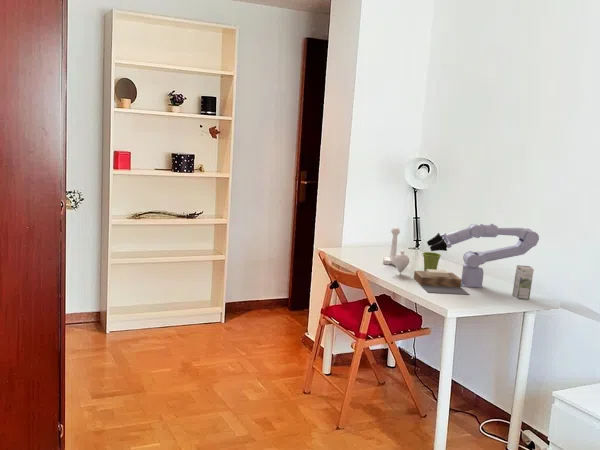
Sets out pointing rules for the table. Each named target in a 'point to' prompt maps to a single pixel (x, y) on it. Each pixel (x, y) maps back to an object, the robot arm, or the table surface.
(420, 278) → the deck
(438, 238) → the robot arm
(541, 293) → the table surface
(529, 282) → the syrup box
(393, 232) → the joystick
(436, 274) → the card
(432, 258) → the plant pot
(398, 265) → the spinning top
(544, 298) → the table surface
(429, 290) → the mat
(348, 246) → the table surface
